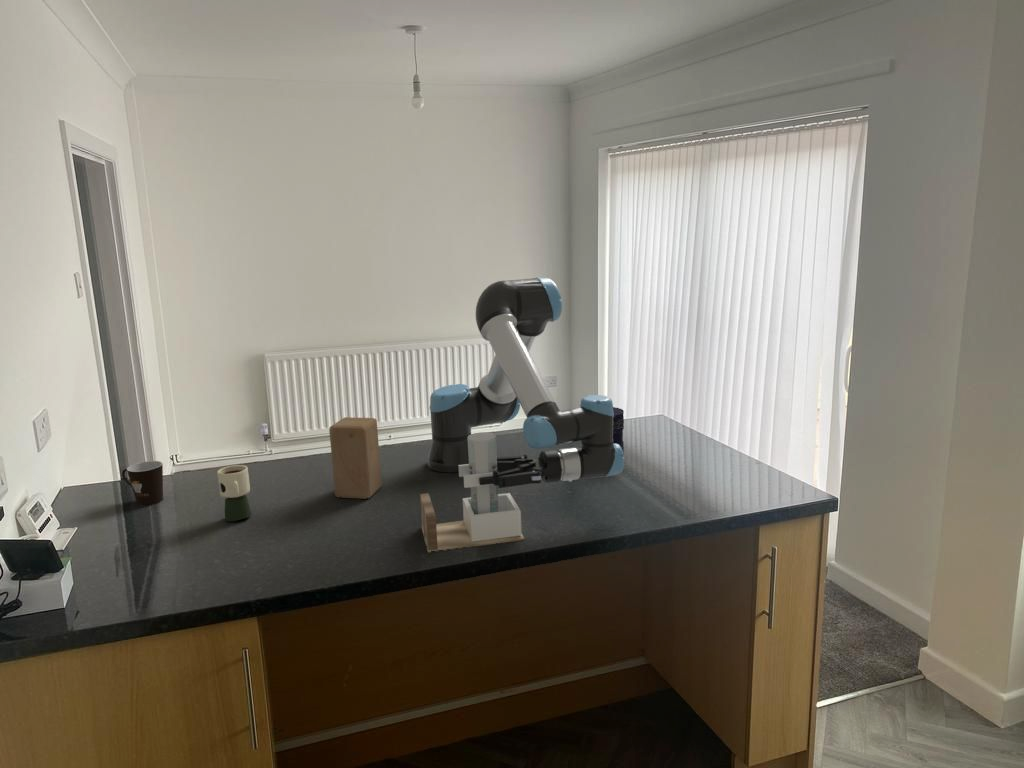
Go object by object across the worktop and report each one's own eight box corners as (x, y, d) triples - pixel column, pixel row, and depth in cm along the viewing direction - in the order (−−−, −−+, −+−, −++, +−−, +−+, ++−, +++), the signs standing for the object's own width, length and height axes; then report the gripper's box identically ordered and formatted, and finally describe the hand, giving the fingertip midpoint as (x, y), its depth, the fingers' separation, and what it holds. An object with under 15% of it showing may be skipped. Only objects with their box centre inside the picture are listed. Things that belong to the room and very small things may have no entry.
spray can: (472, 513, 174) (468, 432, 170) (499, 512, 174) (496, 431, 169) (470, 524, 168) (466, 441, 163) (498, 523, 168) (495, 440, 163)
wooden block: (369, 500, 193) (363, 427, 189) (334, 498, 195) (327, 426, 191) (383, 486, 203) (377, 417, 198) (349, 485, 205) (343, 416, 200)
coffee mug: (173, 500, 198) (167, 465, 196) (139, 510, 192) (134, 474, 190) (155, 490, 206) (150, 456, 204) (123, 499, 200) (117, 464, 197)
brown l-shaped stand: (421, 527, 175) (419, 494, 174) (511, 516, 180) (509, 484, 178) (427, 552, 162) (425, 516, 160) (524, 539, 167) (523, 505, 165)
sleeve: (463, 521, 176) (462, 498, 175) (510, 516, 179) (509, 492, 177) (471, 541, 165) (470, 516, 164) (521, 535, 168) (520, 510, 166)
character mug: (221, 513, 188) (215, 465, 185) (250, 508, 191) (245, 460, 188) (225, 529, 178) (218, 478, 175) (256, 523, 181) (250, 473, 178)
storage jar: (626, 464, 214) (626, 415, 211) (592, 465, 214) (592, 416, 211) (621, 453, 224) (621, 406, 221) (589, 454, 224) (588, 407, 221)
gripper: (571, 495, 164) (469, 507, 159) (547, 467, 182) (455, 477, 177) (570, 463, 162) (467, 474, 157) (546, 438, 181) (454, 447, 176)
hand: (461, 476), depth 167 cm, fingers closed on spray can, 6 cm apart
